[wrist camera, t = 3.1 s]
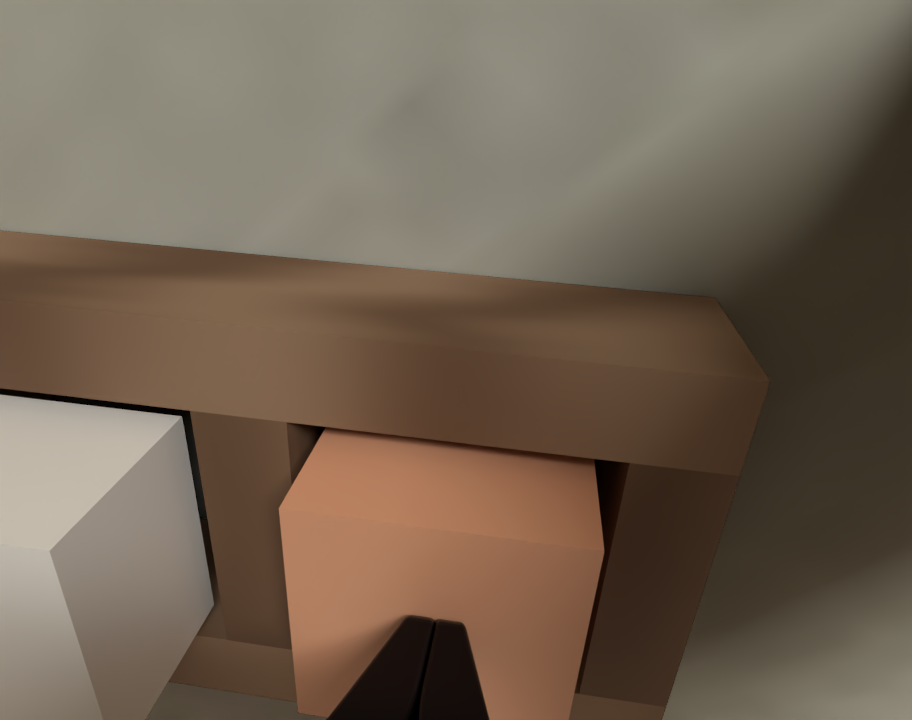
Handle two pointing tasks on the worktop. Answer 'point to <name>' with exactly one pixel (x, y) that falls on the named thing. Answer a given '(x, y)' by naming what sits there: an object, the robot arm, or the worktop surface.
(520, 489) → the terracotta cube block
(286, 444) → the three-slot wooden rack
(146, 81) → the worktop surface
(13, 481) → the cream cube block
